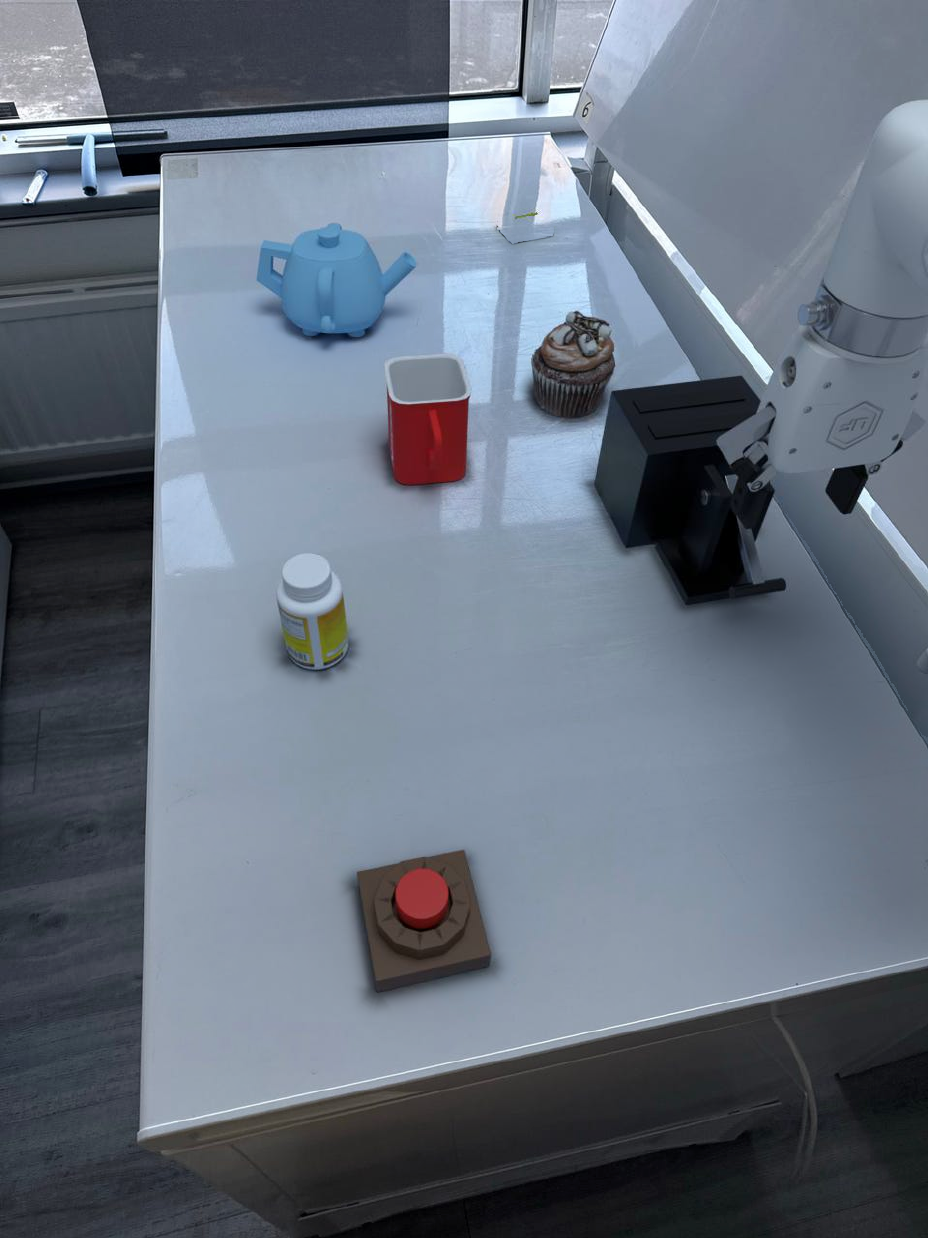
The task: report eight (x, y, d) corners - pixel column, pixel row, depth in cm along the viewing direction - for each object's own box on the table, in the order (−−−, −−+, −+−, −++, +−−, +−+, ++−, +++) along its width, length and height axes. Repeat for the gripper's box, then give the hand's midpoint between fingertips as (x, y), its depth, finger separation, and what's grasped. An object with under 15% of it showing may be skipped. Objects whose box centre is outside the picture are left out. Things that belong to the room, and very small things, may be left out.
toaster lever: (778, 593, 81) (791, 587, 79) (727, 601, 81) (739, 596, 78) (749, 479, 83) (761, 470, 81) (699, 486, 82) (710, 477, 80)
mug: (385, 440, 101) (382, 357, 93) (458, 434, 102) (460, 352, 94) (398, 512, 93) (395, 429, 85) (476, 505, 94) (480, 422, 86)
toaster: (752, 528, 93) (788, 434, 84) (625, 548, 91) (648, 452, 81) (713, 467, 99) (742, 373, 90) (593, 484, 97) (611, 389, 88)
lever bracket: (762, 592, 87) (800, 501, 78) (685, 605, 86) (716, 513, 77) (727, 536, 92) (760, 444, 83) (655, 547, 91) (680, 455, 82)
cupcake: (541, 367, 111) (549, 292, 103) (616, 386, 109) (631, 310, 101) (516, 410, 105) (523, 334, 97) (595, 430, 103) (609, 354, 95)
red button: (453, 922, 61) (453, 912, 60) (401, 934, 60) (400, 924, 59) (441, 874, 63) (442, 863, 62) (391, 884, 63) (390, 874, 61)
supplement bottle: (349, 623, 83) (341, 544, 75) (348, 671, 79) (339, 594, 72) (288, 625, 82) (274, 546, 75) (284, 673, 79) (269, 595, 71)
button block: (489, 966, 63) (492, 945, 60) (376, 992, 61) (374, 972, 58) (463, 862, 68) (464, 838, 65) (358, 884, 66) (355, 860, 63)
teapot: (254, 353, 111) (239, 262, 102) (271, 284, 122) (259, 196, 113) (415, 357, 111) (414, 267, 103) (419, 288, 122) (418, 201, 113)
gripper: (777, 359, 56) (709, 557, 69) (1019, 331, 59) (909, 526, 72) (727, 297, 60) (672, 494, 74) (953, 274, 63) (861, 467, 77)
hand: (790, 509), depth 73 cm, fingers open, 8 cm apart
